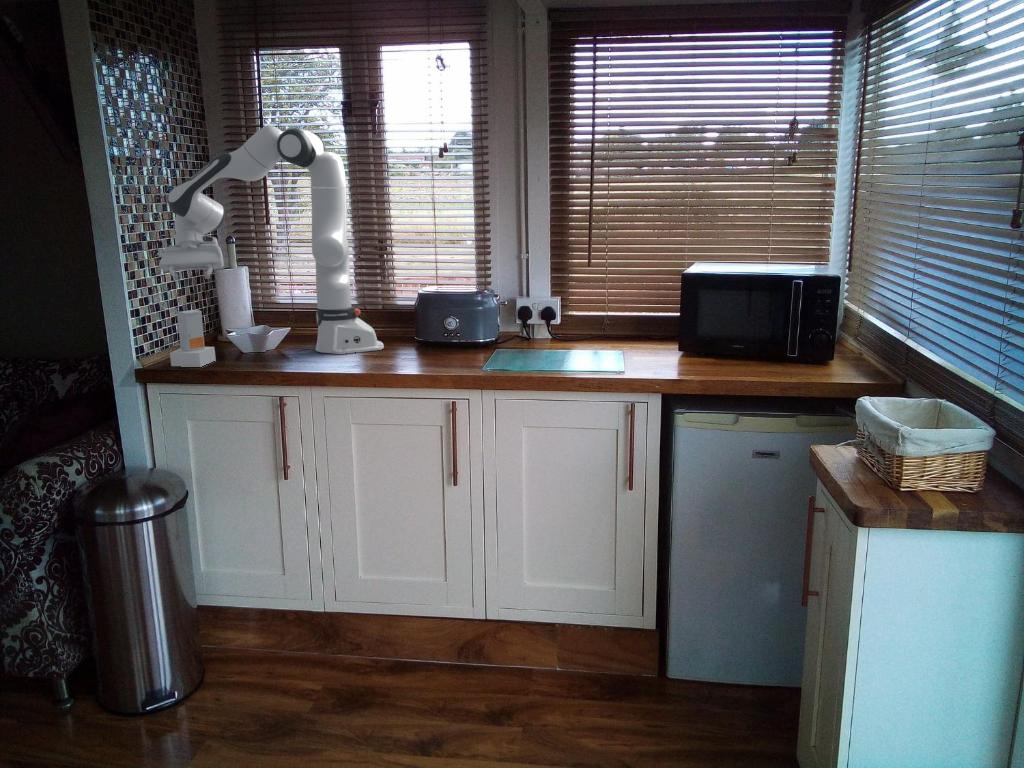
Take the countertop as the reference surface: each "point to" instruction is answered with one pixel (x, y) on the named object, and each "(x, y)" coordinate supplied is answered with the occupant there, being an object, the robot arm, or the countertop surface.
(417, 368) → the countertop surface
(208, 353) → the grey block
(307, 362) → the countertop surface
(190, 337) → the skincare box
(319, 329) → the robot arm
